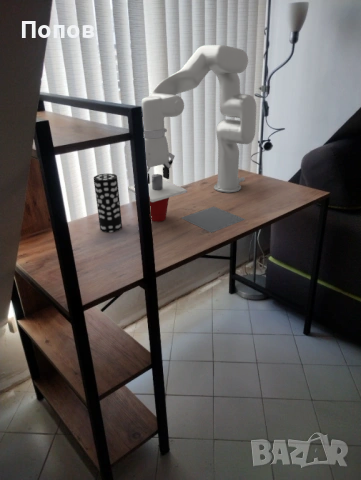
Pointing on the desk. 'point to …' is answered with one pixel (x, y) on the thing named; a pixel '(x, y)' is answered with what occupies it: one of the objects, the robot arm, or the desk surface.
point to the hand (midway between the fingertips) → (156, 180)
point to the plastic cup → (159, 210)
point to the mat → (212, 219)
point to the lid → (161, 188)
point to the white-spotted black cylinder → (108, 202)
